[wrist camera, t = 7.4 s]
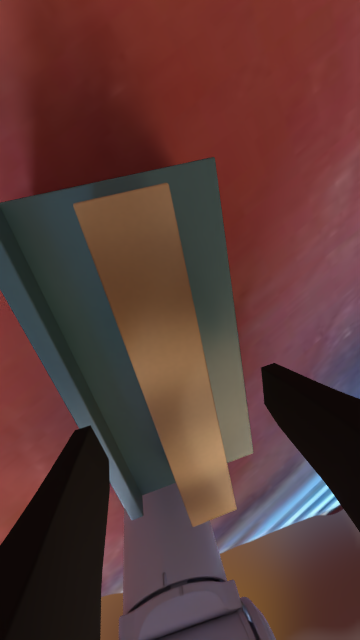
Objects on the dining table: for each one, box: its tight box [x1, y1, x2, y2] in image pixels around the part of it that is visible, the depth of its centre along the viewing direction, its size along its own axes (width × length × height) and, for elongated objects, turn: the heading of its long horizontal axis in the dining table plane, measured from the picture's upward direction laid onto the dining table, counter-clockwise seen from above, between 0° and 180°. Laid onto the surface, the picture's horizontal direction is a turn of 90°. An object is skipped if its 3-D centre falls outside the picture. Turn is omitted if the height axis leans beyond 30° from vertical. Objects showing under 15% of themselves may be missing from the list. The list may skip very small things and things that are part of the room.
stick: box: [73, 183, 236, 527], centre depth 11 cm, size 16×3×3 cm, turn 13°
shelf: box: [0, 157, 253, 520], centre depth 14 cm, size 18×9×7 cm, turn 13°
